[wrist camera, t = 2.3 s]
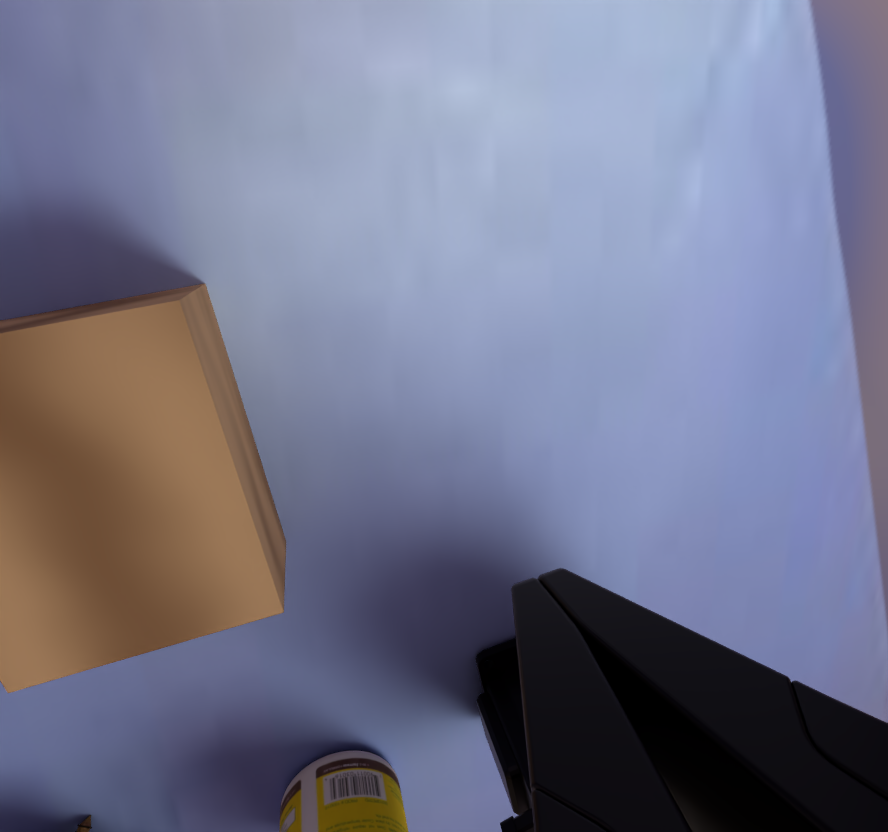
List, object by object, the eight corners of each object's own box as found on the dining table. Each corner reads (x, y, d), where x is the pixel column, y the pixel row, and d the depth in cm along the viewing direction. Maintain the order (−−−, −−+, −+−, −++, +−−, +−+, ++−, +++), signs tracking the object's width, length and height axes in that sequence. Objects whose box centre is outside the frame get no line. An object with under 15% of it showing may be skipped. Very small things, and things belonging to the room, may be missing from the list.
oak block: (206, 282, 18) (179, 300, 14) (286, 537, 21) (283, 612, 17) (-69, 332, 16) (-192, 368, 12) (67, 596, 20) (7, 693, 16)
